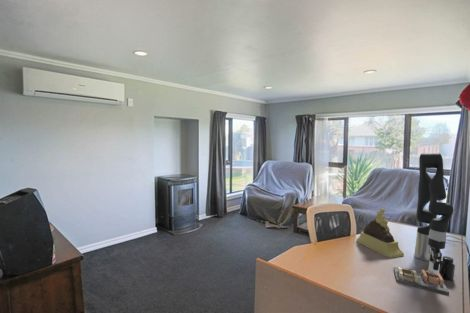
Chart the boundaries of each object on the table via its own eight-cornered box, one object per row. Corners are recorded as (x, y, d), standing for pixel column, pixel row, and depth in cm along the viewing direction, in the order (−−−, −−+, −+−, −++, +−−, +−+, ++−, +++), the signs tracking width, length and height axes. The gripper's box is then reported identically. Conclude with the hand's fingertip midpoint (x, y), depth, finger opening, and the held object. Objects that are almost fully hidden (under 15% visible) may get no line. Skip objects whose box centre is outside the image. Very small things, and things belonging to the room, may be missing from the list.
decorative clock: (403, 256, 179) (408, 213, 176) (390, 258, 174) (395, 214, 172) (368, 240, 205) (372, 202, 202) (356, 241, 200) (360, 203, 198)
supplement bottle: (446, 275, 156) (449, 255, 155) (456, 281, 149) (459, 261, 148) (435, 274, 155) (437, 255, 154) (444, 281, 149) (447, 260, 148)
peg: (426, 277, 149) (428, 260, 148) (435, 279, 147) (437, 261, 146) (427, 280, 145) (430, 263, 144) (436, 282, 143) (439, 264, 143)
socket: (421, 274, 152) (421, 269, 151) (438, 278, 148) (439, 273, 148) (424, 281, 144) (424, 276, 144) (443, 285, 140) (443, 280, 140)
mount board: (393, 269, 159) (394, 262, 159) (440, 280, 149) (441, 272, 149) (396, 281, 145) (397, 274, 144) (448, 295, 135) (450, 286, 134)
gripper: (426, 232, 152) (422, 259, 153) (431, 241, 139) (428, 270, 141) (442, 235, 149) (438, 262, 150) (449, 244, 136) (445, 274, 137)
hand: (433, 266), depth 145 cm, fingers open, 8 cm apart
